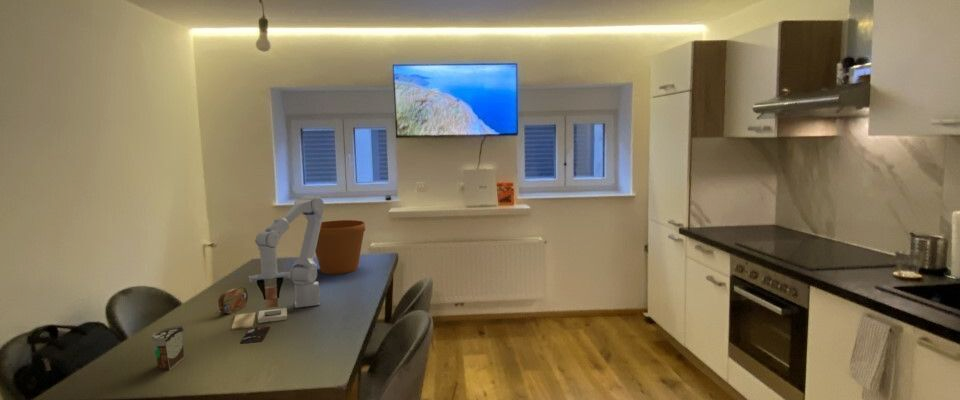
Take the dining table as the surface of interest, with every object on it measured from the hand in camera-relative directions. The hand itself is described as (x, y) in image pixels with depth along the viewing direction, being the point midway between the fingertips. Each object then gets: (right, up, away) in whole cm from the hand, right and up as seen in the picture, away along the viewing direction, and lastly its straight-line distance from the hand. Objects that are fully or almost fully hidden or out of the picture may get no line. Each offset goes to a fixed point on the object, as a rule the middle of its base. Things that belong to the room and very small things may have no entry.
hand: (271, 298), depth 203 cm
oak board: (-9, -8, -3) cm, 13 cm away
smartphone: (+1, -10, -18) cm, 20 cm away
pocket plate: (0, -7, +1) cm, 7 cm away
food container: (-16, -13, -40) cm, 45 cm away
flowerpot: (+6, +1, +74) cm, 75 cm away
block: (0, -3, 0) cm, 3 cm away
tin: (-19, -7, +11) cm, 23 cm away
